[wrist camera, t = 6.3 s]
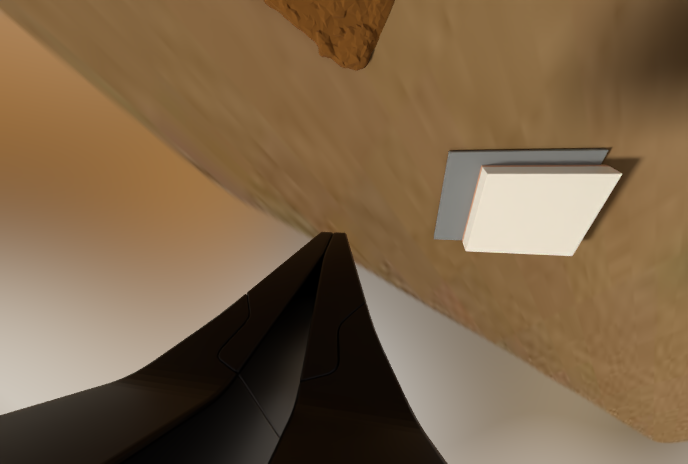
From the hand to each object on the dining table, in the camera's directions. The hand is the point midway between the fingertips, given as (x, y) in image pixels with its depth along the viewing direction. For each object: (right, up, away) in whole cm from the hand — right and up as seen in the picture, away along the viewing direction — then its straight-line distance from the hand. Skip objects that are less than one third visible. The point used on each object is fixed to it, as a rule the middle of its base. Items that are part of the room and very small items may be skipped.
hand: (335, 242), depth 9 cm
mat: (+13, +3, +12) cm, 18 cm away
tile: (+10, +2, +12) cm, 16 cm away
